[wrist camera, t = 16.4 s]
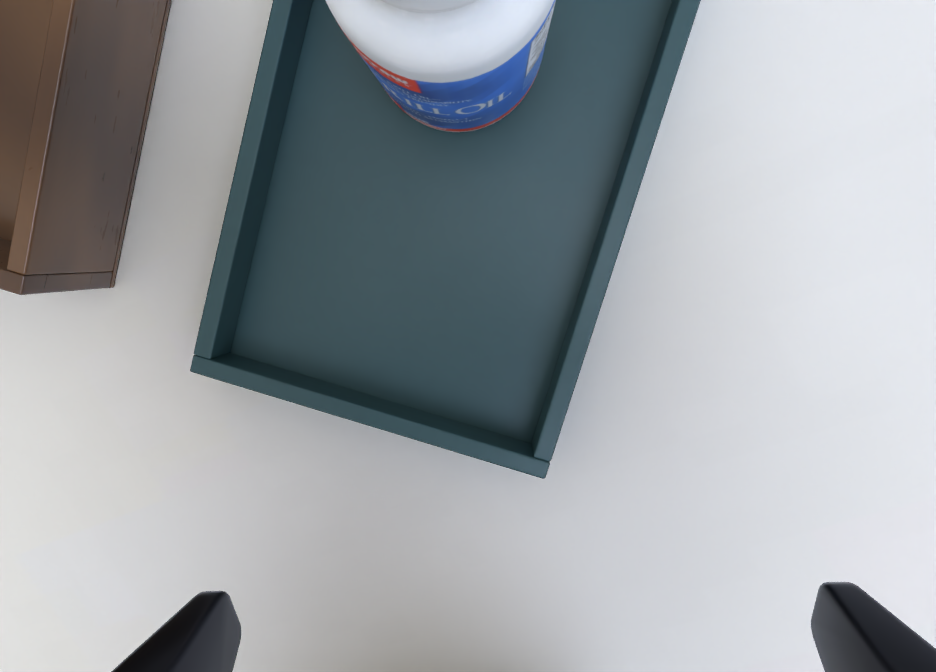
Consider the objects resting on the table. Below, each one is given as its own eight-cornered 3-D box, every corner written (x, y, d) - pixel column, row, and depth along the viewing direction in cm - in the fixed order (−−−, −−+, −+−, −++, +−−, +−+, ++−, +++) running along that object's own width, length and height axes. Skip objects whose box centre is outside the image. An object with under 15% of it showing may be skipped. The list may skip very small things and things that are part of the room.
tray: (541, 459, 22) (544, 480, 20) (217, 361, 22) (188, 371, 20) (725, -110, 19) (750, -153, 17) (350, -213, 19) (332, -267, 17)
